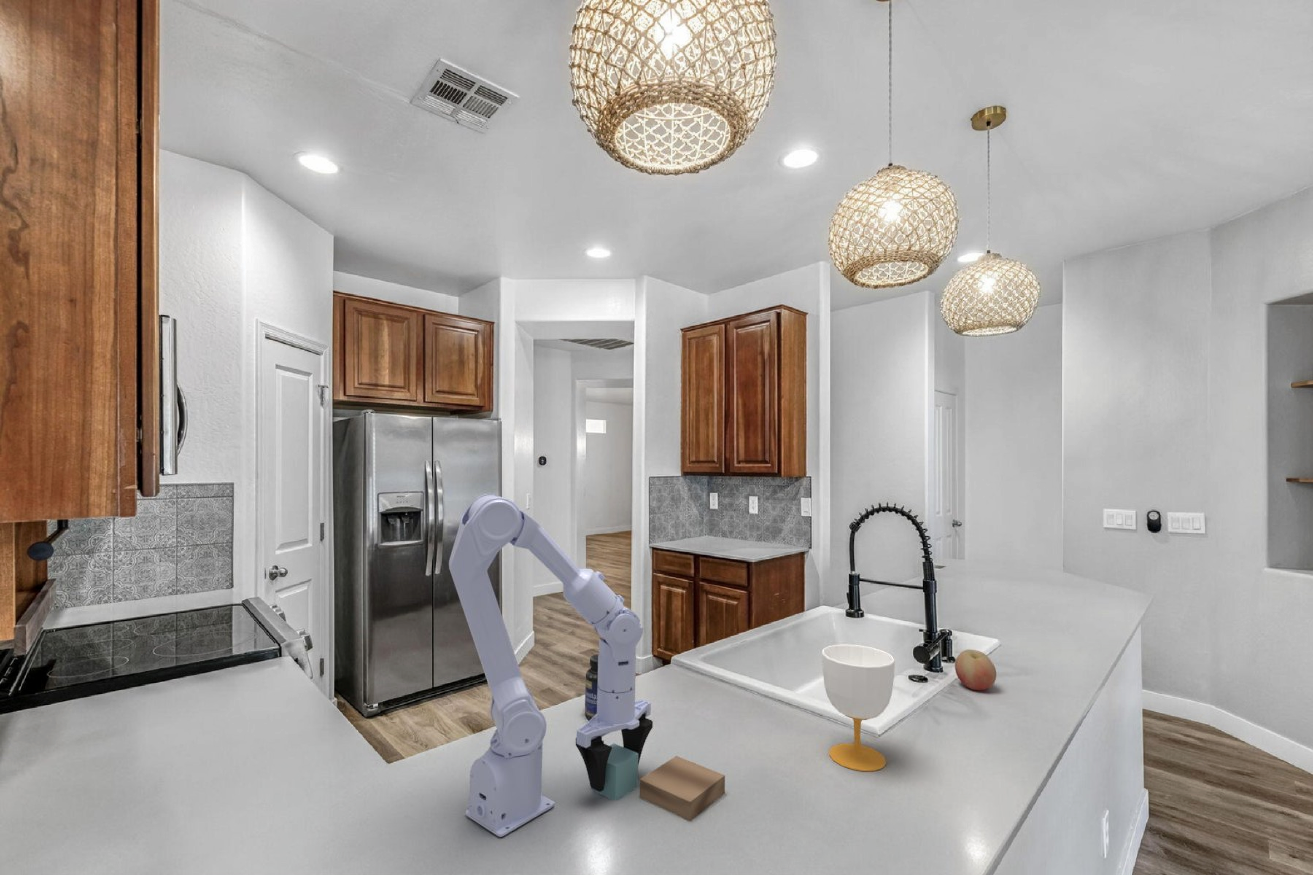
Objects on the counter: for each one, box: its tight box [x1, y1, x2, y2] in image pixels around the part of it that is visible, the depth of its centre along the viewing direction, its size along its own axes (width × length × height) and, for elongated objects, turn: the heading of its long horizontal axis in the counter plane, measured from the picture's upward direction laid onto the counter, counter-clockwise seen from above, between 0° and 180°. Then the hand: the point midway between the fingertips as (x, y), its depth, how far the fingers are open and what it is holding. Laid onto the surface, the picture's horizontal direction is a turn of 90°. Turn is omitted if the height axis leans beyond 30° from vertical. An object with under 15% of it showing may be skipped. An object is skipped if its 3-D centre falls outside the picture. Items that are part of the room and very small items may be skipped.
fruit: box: [954, 649, 997, 691], centre depth 132 cm, size 8×8×8 cm
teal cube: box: [590, 743, 639, 802], centre depth 89 cm, size 5×5×5 cm
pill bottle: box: [584, 653, 599, 721], centre depth 114 cm, size 6×6×11 cm
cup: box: [821, 643, 896, 772], centre depth 99 cm, size 12×12×17 cm
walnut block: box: [638, 755, 726, 822], centre depth 87 cm, size 9×9×3 cm
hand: (614, 777), depth 89 cm, fingers open, 7 cm apart
